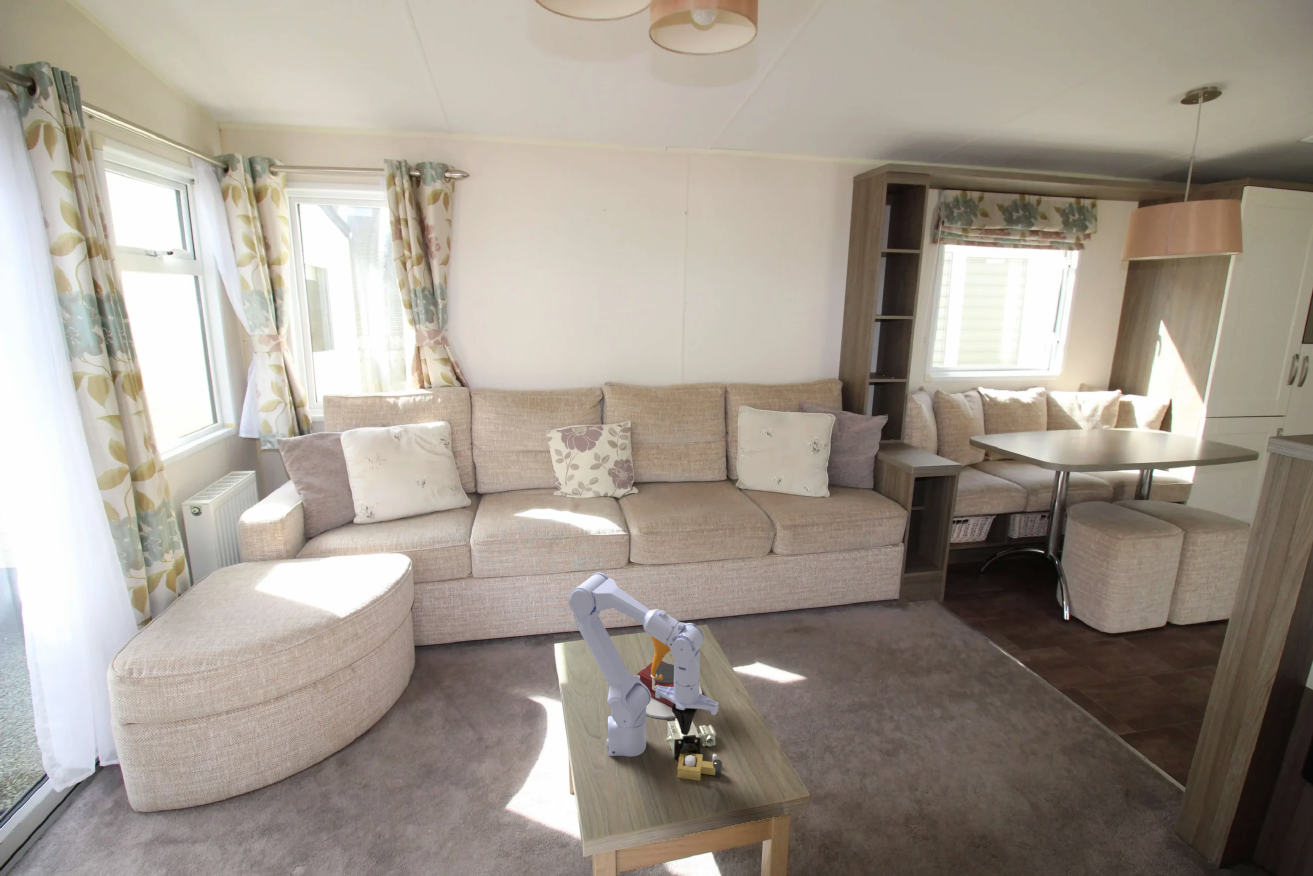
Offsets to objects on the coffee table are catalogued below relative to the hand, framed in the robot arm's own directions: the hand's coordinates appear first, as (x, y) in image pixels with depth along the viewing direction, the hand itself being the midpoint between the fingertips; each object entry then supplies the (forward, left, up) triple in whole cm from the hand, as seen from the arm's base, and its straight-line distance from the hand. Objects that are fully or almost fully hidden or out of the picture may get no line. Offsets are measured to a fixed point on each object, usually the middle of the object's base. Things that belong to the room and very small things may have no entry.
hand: (685, 731), depth 137 cm
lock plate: (+1, -2, -10) cm, 10 cm away
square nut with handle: (+3, -2, -9) cm, 10 cm away
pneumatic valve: (+8, +8, -7) cm, 13 cm away
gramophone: (-2, +26, -10) cm, 28 cm away
